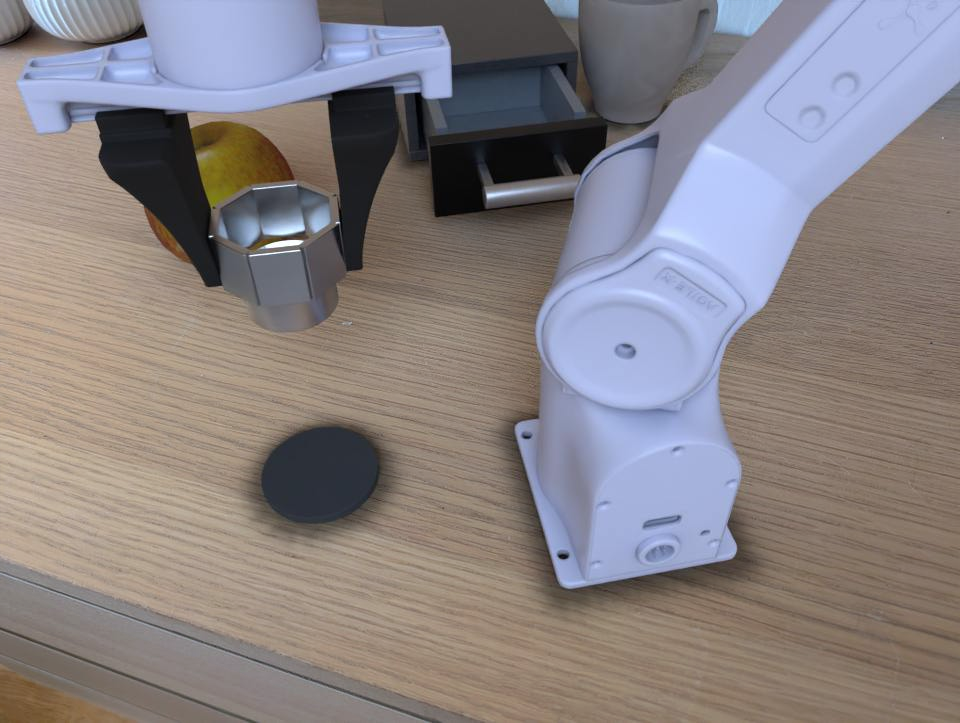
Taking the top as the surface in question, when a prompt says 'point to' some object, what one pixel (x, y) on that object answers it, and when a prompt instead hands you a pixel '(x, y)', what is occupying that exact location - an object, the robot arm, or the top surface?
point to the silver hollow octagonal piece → (280, 252)
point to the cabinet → (482, 44)
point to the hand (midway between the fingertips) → (286, 264)
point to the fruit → (229, 169)
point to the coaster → (320, 475)
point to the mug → (640, 51)
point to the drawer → (507, 140)
